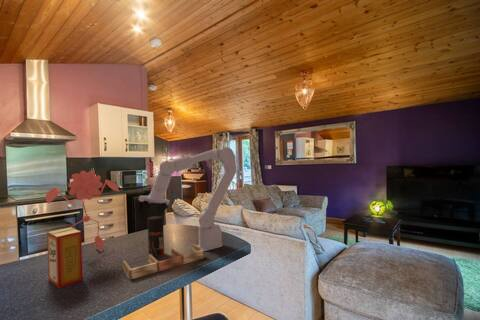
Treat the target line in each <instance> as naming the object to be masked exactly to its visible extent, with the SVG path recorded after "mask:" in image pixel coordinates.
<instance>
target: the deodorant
mask: <svg viewBox="0 0 480 320" xmlns="http://www.w3.org/2000/svg"><path fill="white" fill-rule="evenodd" d="M164 235H165V234H164V216H163V215H160V216H154V215H153V216H149V217H147V241H148V242H147V243H148V245H147V246H148V247H147V248H148V255H149V254H151V255H152V256H153V257H154V258H155V259H156V258H159V257H160V258H161V257H163V256H164V255H165V240H164V239H165V237H164Z"/></svg>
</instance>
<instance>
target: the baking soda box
mask: <svg viewBox="0 0 480 320" xmlns="http://www.w3.org/2000/svg"><path fill="white" fill-rule="evenodd" d="M46 234H47V265H48V267H47V268H48V281H50V283H52V284H53V285H54V286H55V287H56V288H58V289H60V288H64V287H66V286H69V285H72V284H75V283H78V282H80V281H83V279H84V278H83V275H84V273H83V249H82V247H83V246H82V242H83V241H82V231H81V230H78V229H75V228H74V227H67V228H62V229H61V228H60V229H56V230H51V231H47V233H46Z"/></svg>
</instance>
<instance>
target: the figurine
mask: <svg viewBox="0 0 480 320" xmlns="http://www.w3.org/2000/svg"><path fill="white" fill-rule="evenodd" d="M101 178H102V177H101V176H100V175H96V173H95V170H93V169H91V170H89V171H88V172H87V171H85V170H81V171H80V173H73V174H72V175H71V179H72V181H70V182H69V183H68V184H67V185H68V186H67V187H69V188H70V189H69V191H68V194H69V195H70V196H76V198H75V199H71V200H69V199H68V197H65V196H64V194H63V193H62V192H61V191H59V189H58V188H57V187H56V186H54V187H53V188H51V189H50V190H48V192H47V193H46V194H45V201H46V203H47V204H50V203H52V202H53V201H54V200H56V198H57V197H58V196H59V195H60V196H61V197H62V198H63V199H65V200H66V201H67V202H68V203H73V202H74V201H75V202H76V201H82V207H83V210H84V214H85V215H84V216H83V217H82V220H80V221H78V222H77V223H74V224H73V225H70V227H71V228H73V227H74V226H76V225H78V224H80V223H82V222H85V223H87V222H90V221H92V222H96V223H97V235H95V237H94V244H95V246H94V249H95V250H96V249H97V248H99V249H100V250H103V251H105V242H104V240H103V239H102V237H100V236H99V235H100V234H99V229H100V228H99V227H100V225H99V224H100V222H99V221H98V220H95V219H93V218H91V216H90V215H88V214H87V210H86V206H85V200H89V201H90V200H92V199H93V198H100V196H101V195H102V193H103V190H104V188H105V186H106V185H107V186H108V188H110V189H111V190H113V191H114V192H118V193H119V192H120V189H119V187H118V185H117V184H116V183H115V182H113V181H112V180H109V179H105V182H104V184H103V182H102V181H101ZM100 188H101V189H100ZM70 227H69V228H70ZM112 253H113V254H114V251H112V252H111V253H109V255H112ZM107 256H108V255H105V256H102V257H99V258H95V259H94V260H99V259H102V258H105V257H107ZM92 261H93V259H92V260H90V262H92ZM88 262H89V260H85V263H88Z"/></svg>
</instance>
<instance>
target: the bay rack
mask: <svg viewBox="0 0 480 320" xmlns="http://www.w3.org/2000/svg"><path fill="white" fill-rule="evenodd" d="M197 245H198V244H195V243H191V251H192V252H189V253H186V254H181V253H180V252H179V251H177V250H176V249H175V248H171V249H170V250H171V251H170V253H171V258H167V259H162V260H158V259H156V258H154V257H153V256H152V255H151V254H149V253H148V254H147V255H148V264H145V265H140V266H137V267H133V268H131V266H130V265H129V263H127V260H122V271H123V272H124V273H125V275H126V276H127V278H128V280H130V281H131V280H133V279H137V278H138V279H139V278H140V277H143V276H147V275H148V276H149V275H150V274H154V273H158V272H161V271H165V270H169V269H172V268H175V267H179V266H181V265H182V266H183V265H185V264H188V263H193V262H196V261H199V260H202V259H206V251H205V250H204V249H202V248H201V247H199V246H197Z"/></svg>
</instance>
